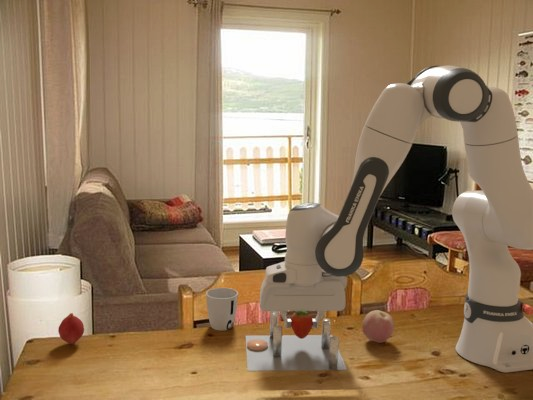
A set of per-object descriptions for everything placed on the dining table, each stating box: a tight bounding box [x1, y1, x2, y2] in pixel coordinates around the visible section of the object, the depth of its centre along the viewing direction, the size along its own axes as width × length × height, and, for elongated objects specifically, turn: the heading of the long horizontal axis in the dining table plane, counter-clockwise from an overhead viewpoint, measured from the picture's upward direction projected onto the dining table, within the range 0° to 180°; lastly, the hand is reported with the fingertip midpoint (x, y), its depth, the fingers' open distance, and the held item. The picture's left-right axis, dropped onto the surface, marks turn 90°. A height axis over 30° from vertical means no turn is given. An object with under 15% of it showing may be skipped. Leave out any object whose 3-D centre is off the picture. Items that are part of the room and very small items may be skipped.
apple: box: [361, 309, 395, 344], centre depth 139 cm, size 8×8×8 cm
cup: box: [205, 287, 239, 332], centre depth 144 cm, size 8×8×10 cm
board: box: [245, 334, 348, 372], centre depth 131 cm, size 22×18×1 cm
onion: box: [58, 312, 85, 345], centre depth 134 cm, size 6×6×8 cm
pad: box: [247, 339, 268, 351], centre depth 133 cm, size 5×5×1 cm
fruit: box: [290, 311, 313, 339], centre depth 132 cm, size 5×5×8 cm
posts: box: [269, 311, 340, 371], centre depth 130 cm, size 14×18×7 cm
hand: (301, 327), depth 132 cm, fingers closed on fruit, 5 cm apart
